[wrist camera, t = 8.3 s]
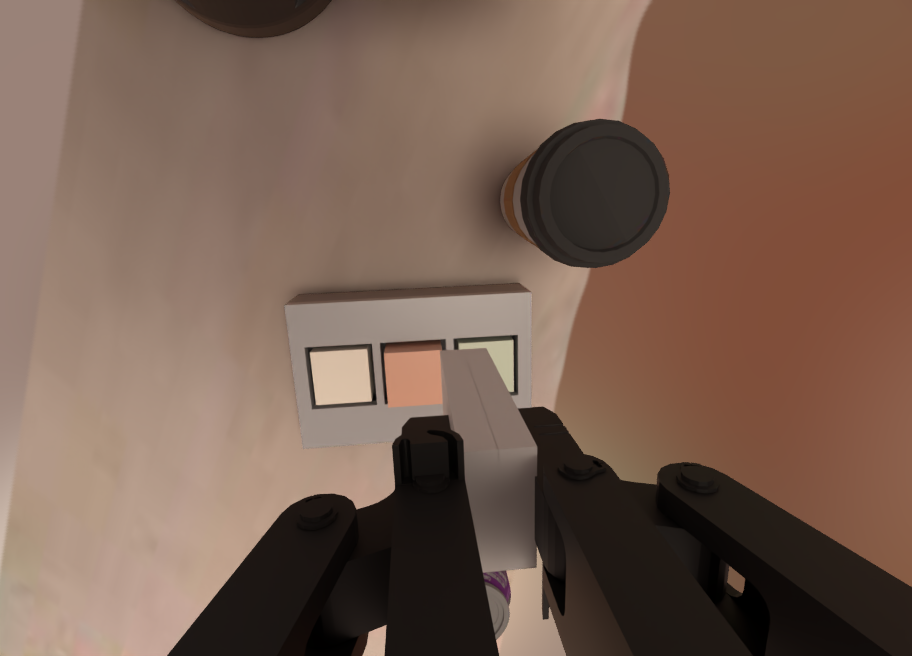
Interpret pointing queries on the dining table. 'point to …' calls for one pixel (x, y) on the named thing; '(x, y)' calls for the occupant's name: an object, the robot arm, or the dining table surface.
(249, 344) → the dining table surface
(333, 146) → the dining table surface
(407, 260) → the dining table surface
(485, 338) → the key sage
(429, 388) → the key terracotta
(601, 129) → the coffee cup
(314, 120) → the dining table surface
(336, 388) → the key cream
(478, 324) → the keypad
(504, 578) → the beverage can
